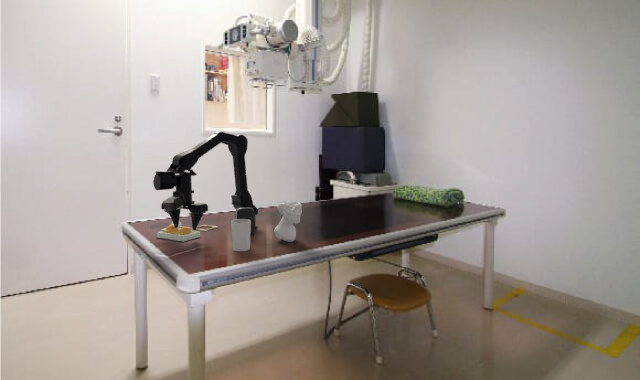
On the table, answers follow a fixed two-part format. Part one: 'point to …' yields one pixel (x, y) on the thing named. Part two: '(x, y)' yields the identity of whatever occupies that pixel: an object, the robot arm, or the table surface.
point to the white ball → (178, 225)
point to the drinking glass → (241, 234)
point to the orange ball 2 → (185, 231)
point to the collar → (205, 226)
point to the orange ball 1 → (171, 229)
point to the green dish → (178, 237)
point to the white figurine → (288, 220)
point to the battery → (246, 216)
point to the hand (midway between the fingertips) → (185, 228)
